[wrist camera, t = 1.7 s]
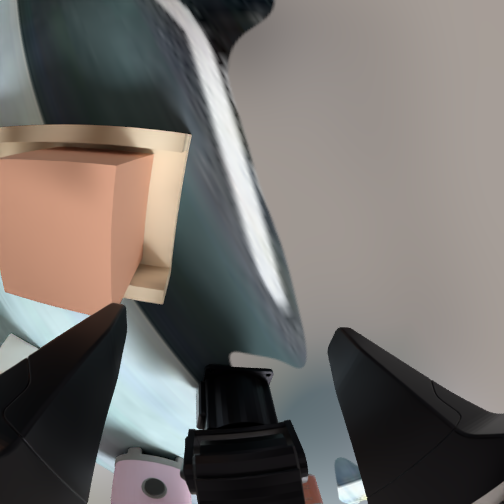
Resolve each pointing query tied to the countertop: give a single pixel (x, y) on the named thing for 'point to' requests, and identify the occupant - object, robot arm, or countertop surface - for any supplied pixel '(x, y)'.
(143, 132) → the chute
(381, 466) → the robot arm
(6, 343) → the jar
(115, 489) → the blender
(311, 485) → the canned food
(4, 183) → the block
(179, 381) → the countertop surface
